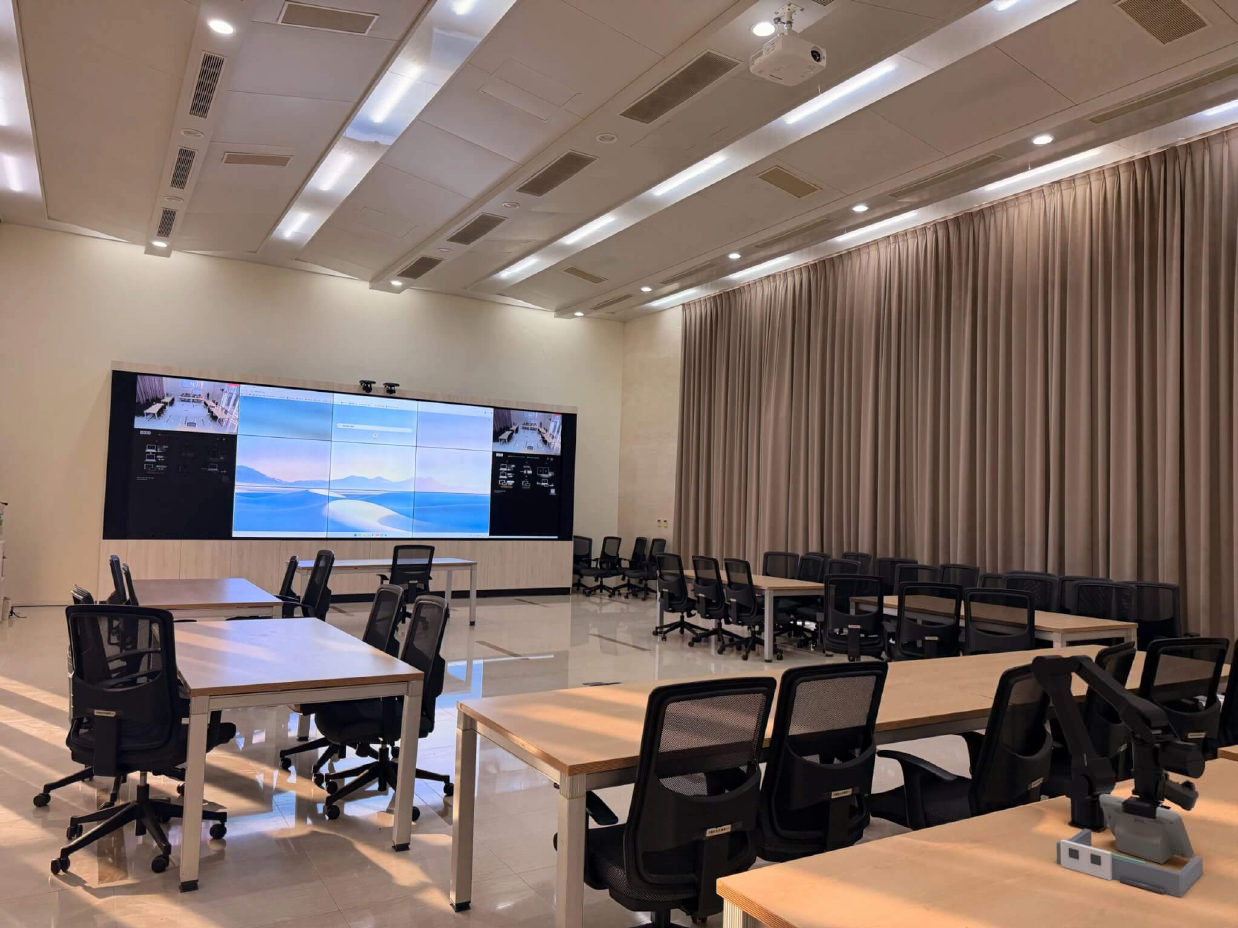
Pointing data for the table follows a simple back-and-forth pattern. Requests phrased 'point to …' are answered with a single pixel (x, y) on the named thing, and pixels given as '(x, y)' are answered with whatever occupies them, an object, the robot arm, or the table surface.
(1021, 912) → the table surface
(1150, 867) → the gray bracket
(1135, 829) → the digital clock
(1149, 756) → the robot arm
